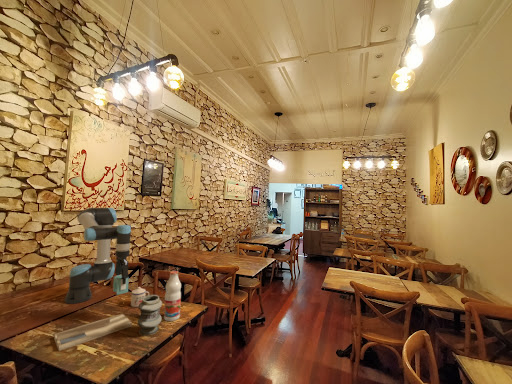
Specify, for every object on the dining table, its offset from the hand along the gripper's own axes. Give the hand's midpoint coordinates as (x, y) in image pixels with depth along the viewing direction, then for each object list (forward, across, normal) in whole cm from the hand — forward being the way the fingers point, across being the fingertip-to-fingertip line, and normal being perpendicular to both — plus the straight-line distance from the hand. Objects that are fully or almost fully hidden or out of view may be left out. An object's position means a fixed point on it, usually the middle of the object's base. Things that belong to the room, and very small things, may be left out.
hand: (120, 287), depth 144 cm
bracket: (+3, 0, 0) cm, 3 cm away
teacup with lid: (+18, -10, +16) cm, 26 cm away
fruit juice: (+18, +23, +22) cm, 37 cm away
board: (+18, +9, -15) cm, 25 cm away
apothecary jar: (+18, +28, +6) cm, 34 cm away
